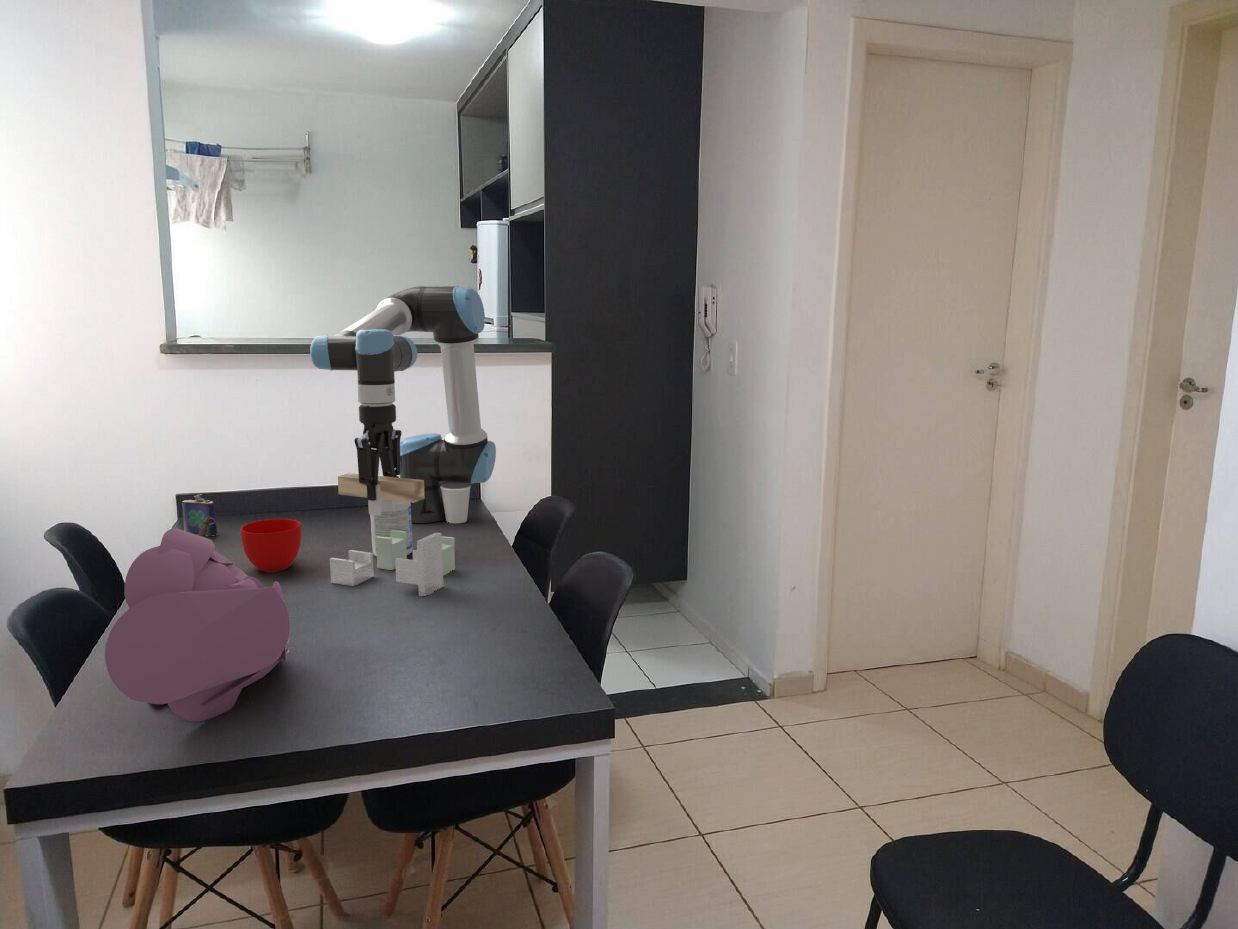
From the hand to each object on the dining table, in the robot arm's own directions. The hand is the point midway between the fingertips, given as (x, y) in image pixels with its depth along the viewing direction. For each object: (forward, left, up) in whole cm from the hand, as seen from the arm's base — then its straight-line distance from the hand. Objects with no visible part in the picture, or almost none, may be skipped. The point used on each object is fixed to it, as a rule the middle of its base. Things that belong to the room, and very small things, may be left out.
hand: (381, 511), depth 193 cm
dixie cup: (-53, -14, -17) cm, 57 cm away
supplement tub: (-20, -12, -17) cm, 29 cm away
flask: (-15, -67, -17) cm, 71 cm away
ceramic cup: (-2, -31, -17) cm, 35 cm away
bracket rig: (0, 0, -16) cm, 16 cm away
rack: (-12, 0, -16) cm, 20 cm away
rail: (0, 0, +3) cm, 3 cm away
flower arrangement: (+53, +5, -17) cm, 56 cm away
